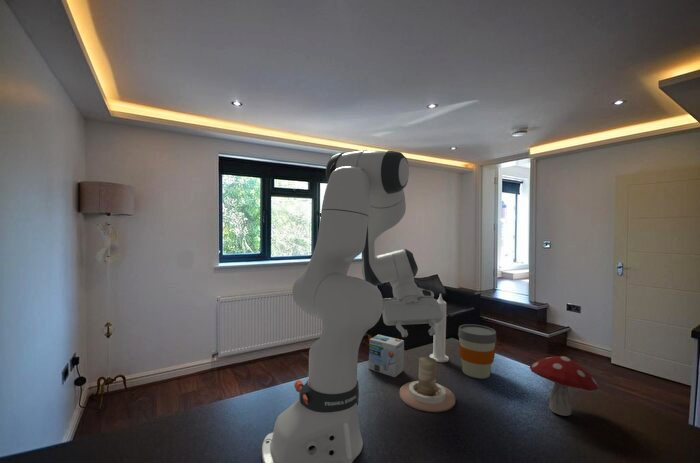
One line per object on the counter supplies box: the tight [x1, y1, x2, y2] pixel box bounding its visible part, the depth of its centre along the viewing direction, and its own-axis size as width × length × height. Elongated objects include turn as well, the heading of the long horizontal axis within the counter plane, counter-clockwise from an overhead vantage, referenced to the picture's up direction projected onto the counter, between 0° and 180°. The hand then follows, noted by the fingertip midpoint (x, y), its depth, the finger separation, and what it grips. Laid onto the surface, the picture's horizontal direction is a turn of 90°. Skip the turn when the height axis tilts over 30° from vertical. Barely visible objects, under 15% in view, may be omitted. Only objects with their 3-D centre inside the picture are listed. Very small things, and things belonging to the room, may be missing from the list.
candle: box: [429, 293, 450, 363], centre depth 123 cm, size 7×7×25 cm
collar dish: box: [399, 380, 456, 413], centre depth 95 cm, size 16×16×2 cm
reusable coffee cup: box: [457, 323, 498, 379], centre depth 112 cm, size 13×12×15 cm
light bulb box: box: [368, 334, 405, 378], centre depth 112 cm, size 11×7×11 cm, turn 55°
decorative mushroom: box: [529, 355, 599, 417], centre depth 88 cm, size 16×16×15 cm
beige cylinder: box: [417, 356, 437, 396], centre depth 95 cm, size 5×5×10 cm
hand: (419, 335), depth 100 cm, fingers open, 8 cm apart
